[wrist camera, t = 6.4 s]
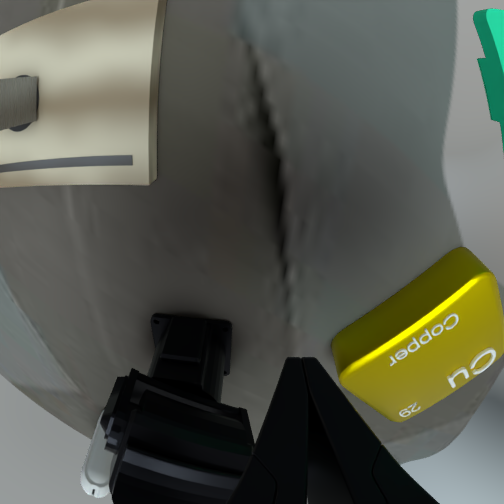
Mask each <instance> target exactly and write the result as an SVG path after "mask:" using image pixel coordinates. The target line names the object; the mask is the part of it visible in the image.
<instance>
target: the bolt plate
mask: <svg viewBox="0 0 504 504" xmlns="http://www.w3.org/2000/svg"><path fill="white" fill-rule="evenodd" d="M166 3H167V0H90V1H86V2H83V3H80V4H76V5H73V6H70V7H67V8H64V9H61V10H58V11H55V12H53V13H50V14H47V15H45V16H42V17H40V18H37V19H35V20H32V21H30V22H28V23H25V24H23V25H21V26H19V27H16V28H14V29H12V30H10V31H8V32H6V33H4V34H2V35H0V79H6V78H18V77H35V76H37V92H36V118H37V121H34V122H30V123H26V124H22V125H18V126H15V127H11V128H8V129H4V130H1V131H0V188H4V187H21V186H45V185H150V184H151V183H152V182H154V181H155V180H156V179H157V109H158V87H159V71H160V58H161V47H162V36H163V27H164V19H165V11H166Z"/></svg>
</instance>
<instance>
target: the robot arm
mask: <svg viewBox="0 0 504 504" xmlns="http://www.w3.org/2000/svg"><path fill="white" fill-rule="evenodd" d="M157 320H158V321H157ZM151 327H152V332H153V337H154V343H155V348H156V350H155V353H154V356H153V360H152V363H151V366H150V369H149V372H148V375H147V376H146V375H144V374H141V373H139V371H137V370H135V369H133V368H132V369H131V371H130V374H129V377H128V376H125V377H117V380H116V382H115V385H114V387H113V390H112V393H111V395H110V398H109V400H108V402H107V405H106V407H105V410H104V412H103V414H102V417H101V420H100V425H101V427H102V429H103V431H104V433H105V436H104V439H106V440H107V441H106V444H105V448H104V450H106V451H108V452H111V453H114V455H113V458H112V461H111V466H110V476H109V489H110V492H111V494H112V500H113V503H114V504H307V498H308V504H440V503H438V502H437V501H436V500H435V499H434V498H433V497H432V496H431V495H430V494H428V493H427V492H426V491H425V490H424V489H423V488H422V487H421V486H420V485H419V484H418V483H417V482H416V481H415V480H414V479H413V478H412V477H411V476H410V475H409V474H408V473H407V472H406V471H405V470H404V469H403V468H402V467H401V466H400V465H399V464H398V462H397V461H396V460H395V459H394V458H393V456H392V455H391V454H390V453H389V452H388V450H387V449H386V448H385V446H384V445H381V444H382V443H381V441H380V440H379V439H378V438H377V436H376V435H375V434H374V432H373V431H372V430H371V429H370V427H369V426H368V425H367V423H366V422H365V421H364V420H363V418H362V417H361V416H360V414H359V413H358V412H357V411H356V409H355V408H354V407H353V405H352V404H351V403H350V402H349V400H348V399H347V398H346V396H345V395H344V394H343V392H342V391H341V390H340V389H339V387H338V386H337V385H336V383H335V382H334V381H333V379H332V378H331V377H330V376H329V374H328V373H327V372H326V370H325V369H324V368H323V366H322V365H321V364H320V362H319V361H318V360H317V359H316V358H315V357H302V358H300V357H287V358H286V360H285V363H284V366H283V369H282V372H281V375H280V378H279V381H278V384H277V387H276V389H275V392H274V395H273V398H272V401H271V403H270V406H269V409H268V412H267V414H266V417H265V420H264V422H263V425H262V428H261V430H260V433H259V435H258V438H257V441H256V443H254V439H253V435H252V430H251V426H250V422H249V417H248V413H247V410H246V409H243V408H240V407H239V408H236V407H232V406H229V405H226V404H222V403H221V394H222V384H223V376H227V375H229V373H230V358H231V339H232V324H231V323H230V322H227V321H218V320H207V319H197V318H187V317H178V316H170V315H161V314H154V315H152V317H151ZM224 327H227V328H224Z"/></svg>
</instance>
